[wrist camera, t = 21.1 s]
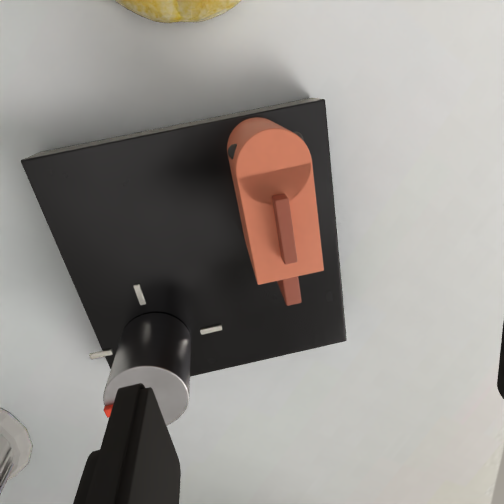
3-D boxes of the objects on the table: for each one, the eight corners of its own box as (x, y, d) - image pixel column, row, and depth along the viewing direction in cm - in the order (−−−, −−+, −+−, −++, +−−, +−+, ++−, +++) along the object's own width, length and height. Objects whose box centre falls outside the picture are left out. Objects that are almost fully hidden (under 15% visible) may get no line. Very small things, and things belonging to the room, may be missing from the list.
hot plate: (336, 329, 29) (348, 351, 27) (119, 378, 29) (112, 405, 26) (312, 97, 22) (326, 99, 20) (24, 155, 22) (2, 164, 19)
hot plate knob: (180, 305, 24) (175, 361, 19) (198, 359, 26) (198, 422, 21) (111, 322, 24) (88, 383, 19) (134, 375, 25) (119, 443, 21)
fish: (302, 255, 23) (334, 308, 18) (248, 267, 23) (263, 324, 18) (283, 111, 20) (315, 122, 14) (219, 124, 20) (227, 139, 14)
